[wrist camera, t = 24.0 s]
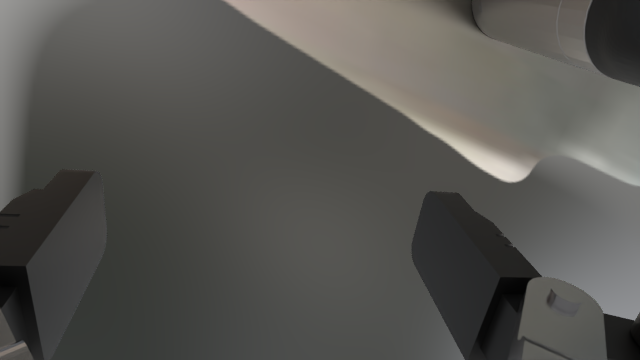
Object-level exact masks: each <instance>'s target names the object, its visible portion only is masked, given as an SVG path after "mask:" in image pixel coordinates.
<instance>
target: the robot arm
mask: <svg viewBox="0 0 640 360" xmlns="http://www.w3.org/2000/svg"><path fill="white" fill-rule="evenodd" d="M472 11H473V16H474V19H475V21H476V23H477V25H478V27H479V28H480V29H481V31H482V32H483V33H484V34H486V35H487V36H489V37H490V38H493V39H495V40H498V41H501V42H504V43H507V44H510V45H513V46H516V47H519V48H522V49H525V50H528V51H531V52H534V53H537V54H540V55H543V56H546V57H549V58H552V59H555V60H558V61H561V62H564V63H567V64H570V65H573V66H576V67H579V68H582V69H586V70H589V71H592V72H595V73H598V74H601V75H604V76H607V77H610V78H613V79H616V80H619V81H622V82H626V83H629V84H632V85H636V86H639V87H640V0H472ZM106 239H107V226H106V214H105V203H104V192H103V182H102V176H101V174H100V172H99V171H88V170H87V171H86V170H70V169H62V170H60V171H59V172H58V173H57V174H56V176H55V177H54V178H53V179H52V180H51V181H50V182H49V183H48V184H47V186H46V187H45V188H44V189H33V190H31V191H29V192H27V193H25V194H23V195H21V196H19V197H17V198H15V199H13V200H12V201H11V202H10V203H9V204H8V205H7V206H6V207H5V208H4V209H3V210H2V211H1V212H0V360H51V358H52V356H53V354H54V352H55V350H56V348H57V346H58V344H59V342H60V340H61V338H62V336H63V334H64V332H65V330H66V328H67V326H68V324H69V322H70V320H71V318H72V316H73V314H74V312H75V310H76V308H77V306H78V304H79V302H80V300H81V298H82V296H83V294H84V292H85V290H86V288H87V286H88V284H89V282H90V280H91V278H92V276H93V274H94V272H95V270H96V268H97V266H98V264H99V262H100V260H101V258H102V256H103V253H104V250H105V246H106ZM412 258H413V262H414V265H415V267H416V269H417V270H418V272H419V274H420V276H421V278H422V280H423V282H424V283H425V286H426V287H427V289H428V291H429V293H430V295H431V297H432V298H433V301H434V302H435V304H436V306H437V308H438V310H439V312H440V314H441V315H442V317H443V319H444V321H445V323H446V325H447V327H448V328H449V330H450V332H451V334H452V336H453V338H454V340H455V342H456V343H457V346H458V347H459V349H460V351H461V353H462V354H463V357H464V359H465V360H640V313H639V314H638V316H637V318H636V320H635V321H634V320H630V319H625V318H621V317H616V316H612V315H608V314H604V313H603V311H602V309H601V307H600V306H599V304H598V303H597V302H596V301H595V300H594V299H593V298H592V297H591V296H590V295H588V294H587V293H586V292H584V291H583V290H581V289H579V288H578V287H576V286H574V285H572V284H570V283H567V282H565V281H562V280H558V279H555V278H549V277H542V276H541V275H540V274H539V273H538V272H537V271H536V269H535V268H534V267H533V266H532V265H531V264H530V263H529V262H528V261H527V260H526V259H525V257H524V256H523V255H522V254H521V253H520V252H519V251H518V250H517V249H516V248H515V247H513V244H512V243H511V242H510V241H509V240H508V239H507V238H506V237H504V235H503V234H502V232H501V231H500V230H499V229H498V228H497V227H496V226H495V225H494V223H492V222H491V221H489V220H488V219H486V218H485V217H483V216H481V215H480V214H479V213H477V212H475V211H474V210H473V209H472V208H471V206H470V205H469V204H468V203H467V202H466V201H465V200H464V199H463V197H462V196H461V195H460V194H459V193H453V192H437V191H430V192H428V193H427V194H426V196H425V198H424V200H423V204H422V208H421V211H420V215H419V219H418V222H417V226H416V230H415V234H414V237H413V241H412Z"/></svg>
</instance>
